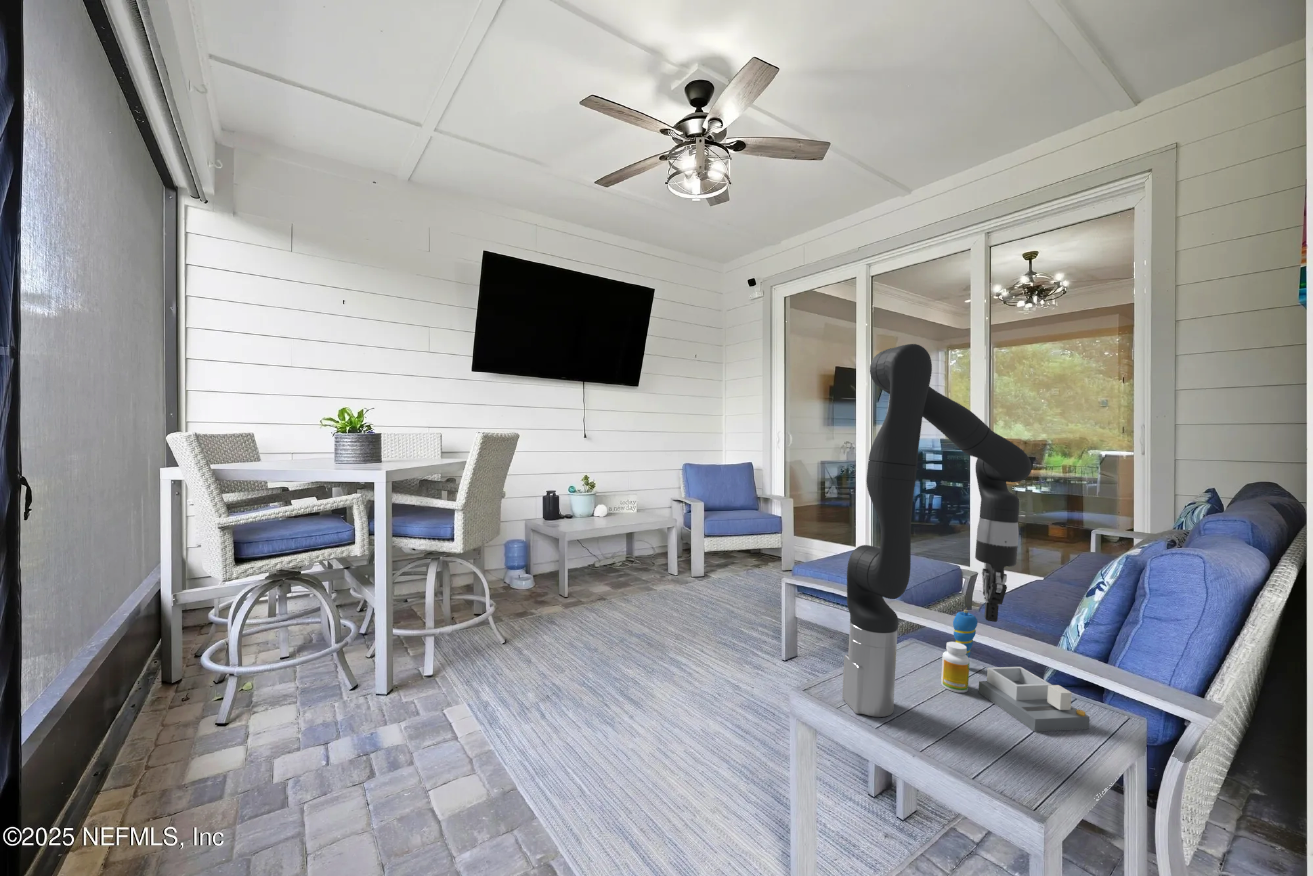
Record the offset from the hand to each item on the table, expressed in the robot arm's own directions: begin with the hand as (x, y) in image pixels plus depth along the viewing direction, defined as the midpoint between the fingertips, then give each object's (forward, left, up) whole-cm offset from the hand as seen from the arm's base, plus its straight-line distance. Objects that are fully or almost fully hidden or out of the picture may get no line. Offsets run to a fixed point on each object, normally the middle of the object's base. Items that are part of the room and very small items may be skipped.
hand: (990, 620), depth 115 cm
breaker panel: (+7, -4, -18) cm, 19 cm away
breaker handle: (+9, -8, -15) cm, 19 cm away
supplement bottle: (-3, +6, -18) cm, 19 cm away
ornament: (+6, +15, -18) cm, 24 cm away
